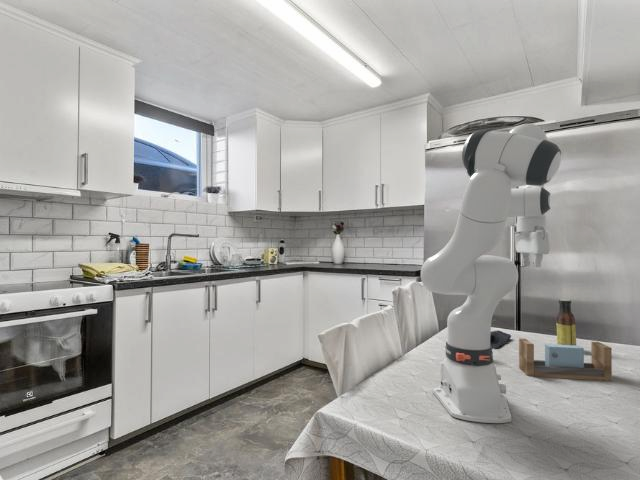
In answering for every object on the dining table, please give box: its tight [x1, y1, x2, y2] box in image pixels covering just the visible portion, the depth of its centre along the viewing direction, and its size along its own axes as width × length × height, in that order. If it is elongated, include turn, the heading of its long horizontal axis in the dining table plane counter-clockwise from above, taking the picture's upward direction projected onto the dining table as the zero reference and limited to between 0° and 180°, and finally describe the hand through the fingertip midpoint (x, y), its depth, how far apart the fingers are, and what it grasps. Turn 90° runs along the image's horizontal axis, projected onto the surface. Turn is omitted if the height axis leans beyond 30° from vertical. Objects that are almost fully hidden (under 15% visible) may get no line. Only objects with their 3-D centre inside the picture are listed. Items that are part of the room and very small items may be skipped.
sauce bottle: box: [556, 298, 577, 346], centre depth 142 cm, size 7×6×20 cm
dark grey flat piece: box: [490, 330, 512, 350], centre depth 155 cm, size 15×22×5 cm
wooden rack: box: [518, 337, 613, 382], centre depth 116 cm, size 8×24×10 cm, turn 80°
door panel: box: [544, 343, 585, 368], centre depth 116 cm, size 4×10×8 cm, turn 80°
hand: (531, 266), depth 126 cm, fingers open, 8 cm apart
